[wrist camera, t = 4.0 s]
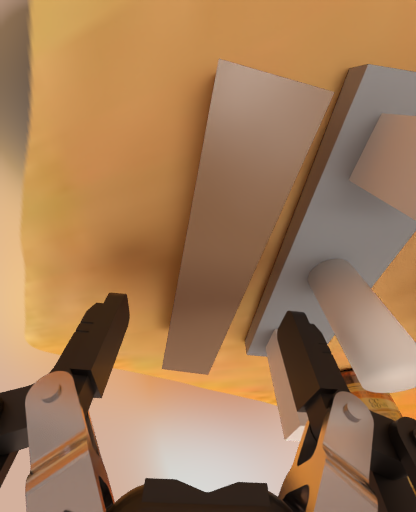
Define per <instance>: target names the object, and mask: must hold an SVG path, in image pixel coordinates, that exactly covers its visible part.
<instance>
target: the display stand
mask: <svg viewBox="0 0 416 512" xmlns="http://www.w3.org/2000/svg"><path fill="white" fill-rule="evenodd" d="M415 231H416V72H413V71H407V70H401V69H395V68H389V67H383V66H377V65H371V64H367V65H362V66H358V67H353V68H350V69H349V71H348V74H347V77H346V79H345V82H344V85H343V87H342V90H341V92H340V95H339V98H338V100H337V103H336V105H335V108H334V111H333V113H332V116H331V118H330V121H329V124H328V126H327V129H326V131H325V134H324V137H323V139H322V142H321V144H320V147H319V150H318V152H317V155H316V157H315V160H314V163H313V165H312V168H311V170H310V173H309V176H308V178H307V181H306V183H305V186H304V189H303V191H302V194H301V196H300V199H299V202H298V204H297V207H296V209H295V212H294V215H293V217H292V220H291V223H290V225H289V228H288V230H287V233H286V236H285V238H284V241H283V243H282V246H281V249H280V251H279V254H278V256H277V259H276V262H275V264H274V267H273V269H272V272H271V275H270V277H269V280H268V282H267V285H266V288H265V290H264V293H263V295H262V298H261V301H260V303H259V306H258V308H257V311H256V314H255V316H254V319H253V321H252V324H251V327H250V329H249V332H248V334H247V337H246V340H245V346H246V354H247V355H255V356H266V357H268V362H269V367H270V372H271V376H272V381H273V386H274V391H275V396H276V400H277V405H278V410H279V414H280V419H281V424H282V429H283V434H284V439H285V440H286V441H300V440H301V437H302V434H303V431H304V428H305V425H306V422H307V420H308V416H307V413H306V412H297V410H296V406H295V402H294V399H293V395H292V391H291V388H290V384H289V380H288V377H287V373H286V369H285V366H284V362H283V359H282V355H281V351H280V348H279V344H278V340H277V330H278V327H279V325H280V323H281V322H282V320H283V318H284V316H285V314H286V312H287V311H298V312H304V313H305V314H306V316H307V318H308V320H309V323H310V324H315V326H316V327H317V328H318V329H319V330H320V331H321V332H322V334H323V336H324V338H325V340H326V342H327V344H328V343H329V341H330V340H331V339H332V338H333V336H334V335H336V337H337V339H338V341H339V343H340V345H341V347H342V349H343V351H344V353H345V355H346V357H347V359H348V361H349V363H350V365H351V367H352V368H353V370H354V372H355V374H356V376H357V378H358V380H359V382H360V384H361V386H362V387H363V388H364V389H365V390H367V391H370V392H375V393H392V392H399V391H404V390H408V389H411V388H415V387H416V342H415V341H414V340H413V339H412V338H411V336H410V335H409V334H408V333H407V332H406V330H405V329H404V328H403V327H402V325H401V324H400V323H399V322H398V321H397V319H396V318H395V317H394V316H393V315H392V313H391V312H390V311H389V310H388V309H387V307H386V306H385V305H384V304H383V303H382V301H381V300H380V299H379V298H378V297H377V295H376V294H375V293H374V292H373V290H372V289H371V288H372V286H373V285H374V284H375V282H376V281H377V280H378V279H379V277H380V276H381V275H382V273H383V272H384V271H385V270H386V268H387V267H388V266H389V264H390V263H391V262H392V261H393V259H394V258H395V257H396V255H397V254H398V253H399V252H400V250H401V249H402V248H403V247H404V245H405V244H406V243H407V241H408V240H409V239H410V238H411V236H412V235H413V234H414V232H415Z"/></svg>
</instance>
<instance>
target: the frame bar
mask: <svg viewBox="0 0 416 512" xmlns="http://www.w3.org/2000/svg"><path fill="white" fill-rule="evenodd" d="M333 95H334V92H332V91H329V90H325V89H322V88H318V87H315V86H312V85H308V84H305V83H301V82H298V81H294V80H291V79H287V78H284V77H281V76H277V75H274V74H270V73H267V72H263V71H260V70H256V69H253V68H249V67H246V66H243V65H239V64H236V63H232V62H229V61H225V60H222V59H219V61H218V66H217V72H216V77H215V82H214V88H213V93H212V99H211V104H210V110H209V115H208V121H207V126H206V131H205V137H204V142H203V148H202V153H201V159H200V164H199V170H198V175H197V180H196V186H195V191H194V197H193V202H192V208H191V213H190V218H189V224H188V229H187V235H186V240H185V246H184V251H183V257H182V262H181V267H180V273H179V278H178V284H177V289H176V295H175V300H174V305H173V311H172V316H171V322H170V327H169V333H168V338H167V344H166V349H165V354H164V360H163V365H162V369H167V370H175V371H182V372H190V373H198V374H206V375H208V374H209V372H210V369H211V367H212V365H213V363H214V360H215V358H216V356H217V354H218V351H219V349H220V347H221V345H222V343H223V340H224V338H225V336H226V334H227V331H228V329H229V327H230V325H231V322H232V320H233V318H234V316H235V314H236V311H237V309H238V307H239V305H240V302H241V300H242V298H243V296H244V293H245V291H246V289H247V287H248V284H249V282H250V280H251V278H252V276H253V273H254V271H255V269H256V267H257V264H258V262H259V260H260V258H261V255H262V253H263V251H264V249H265V247H266V244H267V242H268V240H269V238H270V235H271V233H272V231H273V229H274V226H275V224H276V222H277V220H278V218H279V215H280V213H281V211H282V209H283V206H284V204H285V202H286V200H287V197H288V195H289V193H290V191H291V188H292V186H293V184H294V182H295V180H296V177H297V175H298V173H299V171H300V168H301V166H302V164H303V162H304V159H305V157H306V155H307V153H308V151H309V148H310V146H311V144H312V142H313V139H314V137H315V135H316V133H317V130H318V128H319V126H320V124H321V121H322V119H323V117H324V115H325V113H326V110H327V108H328V106H329V104H330V101H331V99H332V97H333Z"/></svg>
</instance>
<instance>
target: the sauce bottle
mask: <svg viewBox="0 0 416 512" xmlns="http://www.w3.org/2000/svg"><path fill="white" fill-rule="evenodd" d="M341 374H342V376H343V378H344V381H345V383H346V385H347V387H348V389H349V391H350V392H351V394H353V395H355V396H357V397H358V398H359V399H360V400H361V401H362V402H363V403H364V404H365V405H366V406H367V408H368V409H369V410H371V411H373V412H375V413H378V414H380V415H383V416H385V417H387V418H390V419H392V420H394V421H396V420H398V419H399V418H401V417H402V415H401V413H400V411H399V410H398V408H397V406H396V404H395V403H394V401H393V399H392V397H391V395H390V394H389V393H375V392H370V391H367V390H365V389H364V388H363V387H362V386H361V384H360V382H359V380H358V378H357V376H356V374H355V372H354V370H353V371H343V372H341ZM407 478H408V481H409V483H410V485H411V487H412V489H413V491H414V493H415V495H416V492H415V490H414V488H413V485H412V483H411V481H410V479H409V477H407ZM378 512H379V511H378Z"/></svg>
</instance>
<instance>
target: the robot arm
mask: <svg viewBox="0 0 416 512" xmlns="http://www.w3.org/2000/svg"><path fill="white" fill-rule="evenodd" d="M129 316H130V314H129V306H128V298H127V295H126V294H119V293H109V294H108V296H107V298H106V300H105V302H104V304H103V303H96V304H95V305H93V306H92V307H91V308H90V309H89V310H88V311H87V312H86V313H85V315H84V317H83V319H82V320H81V323H80V324H79V325H78V327H77V329H76V332H74V334H73V336H72V337H71V339H70V341H69V343H68V344H67V346H66V348H65V349H64V351H63V353H62V355H61V356H60V358H59V360H58V362H57V363H56V365H55V366H54V368H53V369H52V370H51V372H50V373H49V374H47V375H45V376H43V377H42V378H40V379H39V380H38V381H37V382H36V383H34V384H32V385H29V386H26V387H23V388H18V389H14V390H10V391H6V392H2V393H0V487H1V485H2V483H3V481H4V479H5V477H6V475H7V473H8V471H9V469H10V467H11V465H12V463H13V461H14V459H15V457H16V455H17V453H18V451H19V450H21V449H24V448H27V447H29V452H30V464H31V470H30V474H29V475H28V477H27V480H26V487H25V496H26V511H27V512H378V511H379V512H416V495H415V493H414V491H413V489H412V487H411V485H410V483H409V481H408V478H407V477H409V479H410V481H411V483H412V485H413V488H414V490H415V492H416V420H414V419H412V418H409V417H401V418H399V419H398V420H396V421H394V420H392V419H390V418H387V417H385V416H383V415H380V414H378V413H375V412H373V411H371V410H369V409H368V408H367V406H366V405H365V404H364V403H363V402H362V401H361V400H360V399H359V398H358V397H357V396H355V395H353V394H351V392H350V391H349V389H348V387H347V385H346V383H345V381H344V378H343V376H342V374H341V372H340V370H339V368H338V366H337V364H336V361H335V359H334V357H333V355H331V351H330V349H329V347H328V346H327V342H326V340H325V338H324V336H323V334H322V332H321V331H320V330H319V329H318V328H317V327H316V326H315V324H310V323H309V320H308V318H307V316H306V314H305V313H304V312H298V311H287V312H286V314H285V316H284V318H283V320H282V322H281V323H280V325H279V327H278V330H277V340H278V344H279V348H280V351H281V355H282V359H283V362H284V366H285V369H286V373H287V377H288V380H289V384H290V388H291V391H292V395H293V399H294V402H295V406H296V410H297V412H306V413H307V416H308V420H307V422H306V425H305V428H304V431H303V434H302V437H301V440H300V444H299V447H298V450H297V453H296V456H295V459H294V462H293V465H292V467H291V469H290V471H289V472H288V474H287V475H286V478H285V479H284V482H283V484H282V487H281V490H280V493H279V496H278V497H277V496H276V495H274V494H273V493H271V492H269V491H268V487H267V483H247V482H246V483H245V482H237V483H234V484H231V485H229V486H226V487H223V488H220V489H217V490H215V491H212V492H204V491H201V490H199V489H197V488H194V487H192V486H189V485H188V484H185V483H183V482H180V481H178V480H174V479H150V478H146V479H145V484H144V485H141V486H139V487H136V488H134V489H132V490H130V491H129V492H128V493H126V494H125V495H123V496H122V497H121V498H120V499H118V500H117V501H116V502H114V498H113V494H112V490H111V486H110V483H109V479H108V476H107V472H106V470H105V466H104V464H103V461H102V458H101V454H100V451H99V447H98V444H97V440H96V436H95V432H94V429H93V425H92V421H91V418H90V414H89V407H90V405H91V402H92V399H93V398H102V396H103V393H104V390H105V387H106V385H107V382H108V379H109V376H110V374H111V371H112V368H113V365H114V363H115V360H116V357H117V354H118V352H119V349H120V346H121V343H122V341H123V338H124V335H125V332H126V330H127V327H128V323H129Z"/></svg>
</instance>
